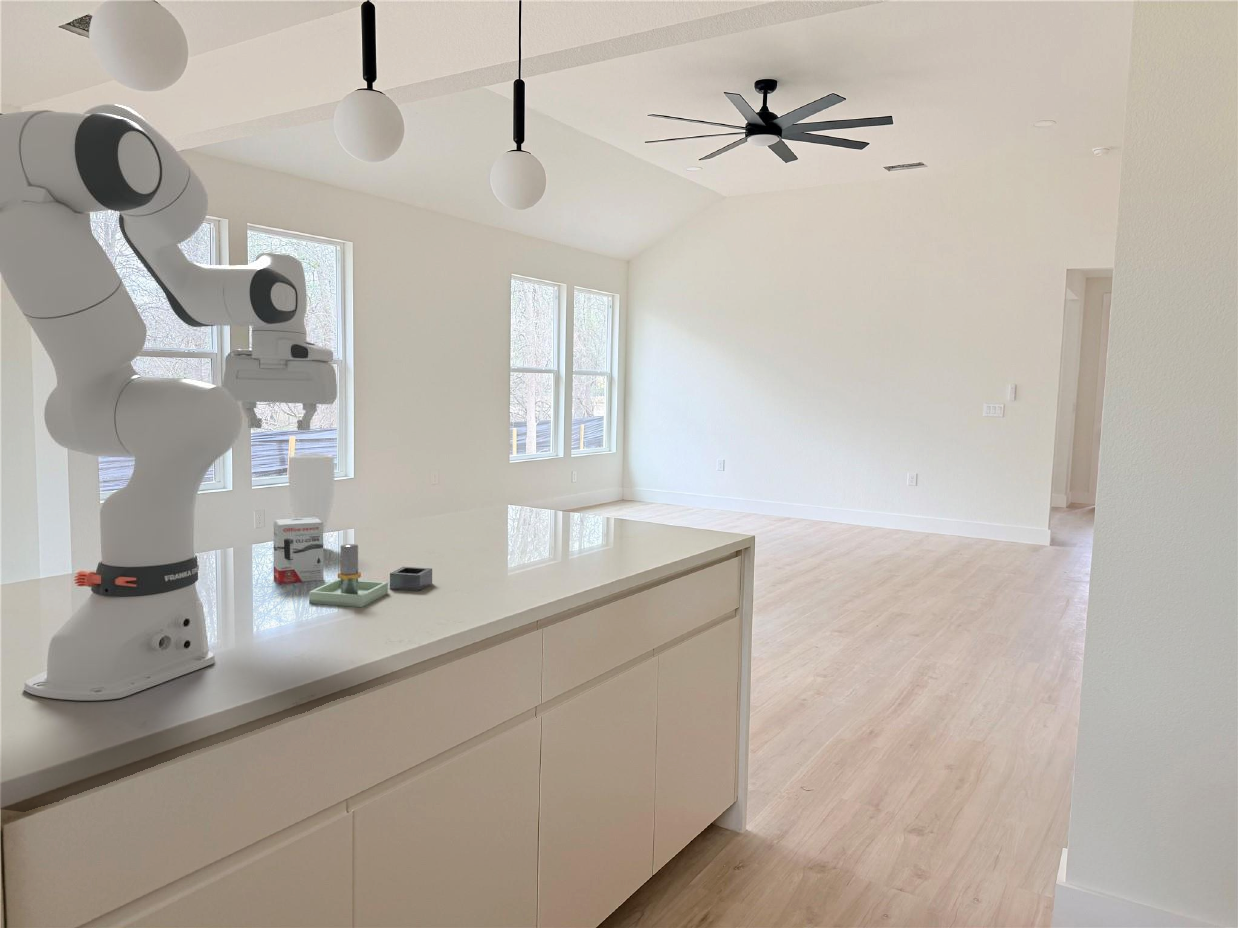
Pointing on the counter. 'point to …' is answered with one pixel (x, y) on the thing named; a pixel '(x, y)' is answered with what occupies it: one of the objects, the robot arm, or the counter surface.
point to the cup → (311, 485)
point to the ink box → (298, 550)
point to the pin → (349, 569)
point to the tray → (333, 594)
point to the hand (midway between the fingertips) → (279, 429)
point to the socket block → (411, 578)
